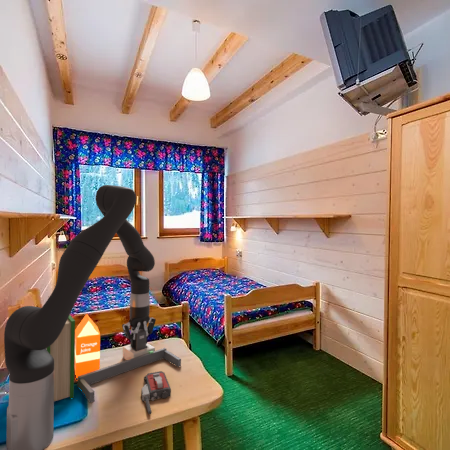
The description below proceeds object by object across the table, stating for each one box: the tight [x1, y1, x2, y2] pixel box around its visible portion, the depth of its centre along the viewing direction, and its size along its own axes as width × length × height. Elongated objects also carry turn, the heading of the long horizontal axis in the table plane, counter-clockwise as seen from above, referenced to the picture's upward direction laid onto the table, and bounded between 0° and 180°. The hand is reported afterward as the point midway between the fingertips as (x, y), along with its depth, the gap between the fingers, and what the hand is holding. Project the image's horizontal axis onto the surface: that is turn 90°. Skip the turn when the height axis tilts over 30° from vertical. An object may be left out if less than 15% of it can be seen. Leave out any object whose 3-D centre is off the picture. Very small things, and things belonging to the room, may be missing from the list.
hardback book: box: [46, 314, 76, 402], centre depth 95 cm, size 18×7×24 cm, turn 39°
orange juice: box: [74, 313, 101, 379], centre depth 106 cm, size 8×9×20 cm
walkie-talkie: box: [141, 370, 172, 415], centre depth 94 cm, size 9×4×20 cm
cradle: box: [77, 347, 182, 404], centre depth 105 cm, size 33×11×4 cm, turn 134°
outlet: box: [122, 342, 156, 361], centre depth 118 cm, size 9×9×4 cm
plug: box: [132, 329, 146, 351], centre depth 118 cm, size 4×4×8 cm
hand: (138, 346), depth 118 cm, fingers closed on plug, 3 cm apart
